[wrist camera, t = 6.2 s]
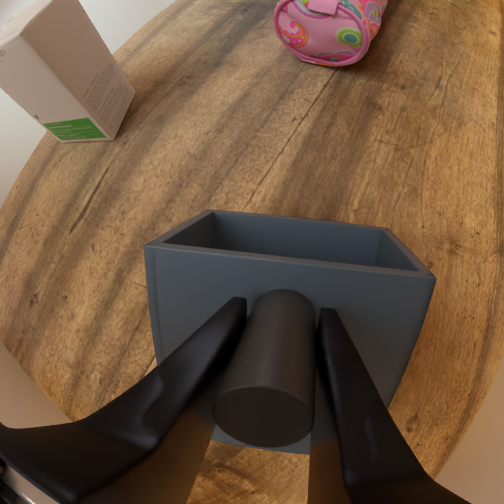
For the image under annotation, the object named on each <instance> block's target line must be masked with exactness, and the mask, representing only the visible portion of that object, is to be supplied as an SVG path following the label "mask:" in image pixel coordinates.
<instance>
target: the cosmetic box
mask: <svg viewBox="0 0 504 504" xmlns="http://www.w3.org/2000/svg"><path fill="white" fill-rule="evenodd" d="M0 88H1V89H2V90H3V91H5V92H6V93H7V94H8V95H9V96H10V97H11V98H12V99H13V100H14V101H15V102H17V103H18V104H19V105H20V106H21V107H22V108H23V109H24V110H25V111H26V112H28V113H29V114H30V115H31V116H32V117H33V118H34V119H35V120H36V121H37V122H38V123H40V124H41V125H42V126H43V127H44V128H46V129H47V131H49V132H50V133H51V134H52V135H53V136H54V137H55V138H57V139H58V140H59V141H60V142H61V143H68V142H86V141H113V140H114V139H115V137H116V135H117V132H118V130H119V128H120V126H121V123H122V121H123V119H124V117H125V115H126V112H127V110H128V108H129V106H130V104H131V102H132V100H133V98H134V96H135V94H136V92H135V91H134V89H133V87H132V86H131V84H130V83H129V81H128V80H127V78H126V76H125V75H124V73H123V72H122V70H121V68H120V67H119V65H118V64H117V62H116V61H115V59H114V57H113V56H112V54H111V53H110V51H109V49H108V48H107V46H106V44H105V43H104V41H103V40H102V38H101V37H100V35H99V33H98V32H97V30H96V29H95V27H94V25H93V23H92V22H91V20H90V19H89V17H88V15H87V14H86V12H85V10H84V9H83V7H82V6H81V4H80V2H79V1H78V0H37V1H35V2H33V3H32V4H31V5H29V6H28V7H26V8H24V9H22V10H21V11H19V12H18V13H16V14H15V15H13V16H12V17H11V18H10V19H9V20H8V22H6V24H5V25H4V26H3V27H2V28H1V29H0Z"/></svg>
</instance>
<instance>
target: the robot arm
mask: <svg viewBox="0 0 504 504" xmlns="http://www.w3.org/2000/svg"><path fill="white" fill-rule="evenodd" d="M246 321H247V299H246V298H245V297H238V296H234V297H232V298H231V299H230V300H229V301H227V302H226V303H225V304H224V305H223V306H222V307H221V308H220V309H219V310H218V311H217V312H216V313H215V314H213V315H212V316H211V317H210V318H209V319H208V320H207V321H206V322H205V323H204V324H203V325H201V326H200V327H199V328H198V329H197V330H196V331H195V332H194V333H193V334H192V335H191V336H189V337H188V338H187V339H186V340H185V341H184V342H183V343H182V344H181V345H180V346H178V347H177V348H176V349H175V350H174V351H173V352H172V353H171V354H170V355H169V356H167V357H166V358H165V359H164V360H163V361H162V362H161V363H160V364H159V365H157V366H156V367H155V368H154V369H153V370H152V371H151V372H149V373H148V374H147V375H146V376H145V377H144V378H142V379H141V380H140V381H139V382H138V383H136V384H135V385H134V386H132V387H131V388H130V389H128V390H127V391H125V392H124V393H123V394H121V395H120V396H118V397H117V398H115V399H114V400H112V401H111V402H110V403H108V404H107V405H105V406H104V407H102V408H101V409H99V410H98V411H96V412H95V413H93V414H92V415H90V416H88V417H86V418H84V419H82V420H79V421H76V422H71V423H66V424H59V425H51V426H43V427H34V428H23V429H14V428H8V427H6V426H4V425H3V424H2V423H1V422H0V504H186V502H187V499H188V497H189V494H190V492H191V489H192V487H193V484H194V482H195V479H196V478H195V477H196V476H197V474H198V471H199V469H200V466H201V463H202V461H203V458H204V456H205V453H206V450H207V448H208V445H209V442H210V440H211V437H212V434H213V432H214V429H215V426H216V422H215V420H214V417H213V413H212V406H213V402H214V400H215V397H216V395H217V392H218V390H219V388H220V385H221V383H222V380H223V378H224V375H225V373H226V371H227V368H228V366H229V363H230V361H231V358H232V356H233V353H234V351H235V348H236V346H237V343H238V341H239V338H240V336H241V333H242V331H243V328H244V326H245V323H246ZM307 504H471V503H469V502H468V501H466V500H464V499H462V498H461V497H459V496H457V495H456V494H454V493H452V492H451V491H449V490H448V489H446V488H444V487H443V486H441V485H440V484H438V483H437V482H435V481H434V480H433V479H432V478H431V477H430V476H429V475H428V474H427V473H426V472H425V470H424V469H423V467H422V466H421V464H420V463H419V461H418V460H417V458H416V456H415V455H414V453H413V452H412V450H411V449H410V447H409V445H408V444H407V442H406V441H405V439H404V438H403V436H402V434H401V433H400V431H399V429H398V428H397V426H396V424H395V423H394V421H393V419H392V417H391V415H390V413H389V412H388V410H387V408H386V406H385V404H384V402H383V399H382V398H381V397H380V394H379V392H378V390H377V388H376V386H375V384H374V382H373V380H372V378H371V376H370V374H369V372H368V370H367V368H366V366H365V364H364V362H363V360H362V358H361V356H360V354H359V352H358V350H357V348H356V347H355V345H354V343H353V341H352V339H351V337H350V335H349V333H348V331H347V330H346V328H345V326H344V324H343V322H342V320H341V318H340V317H339V315H338V313H337V311H336V310H335V309H334V308H328V307H323V308H321V311H320V316H319V320H318V324H317V330H316V390H315V416H314V425H313V427H312V430H311V440H310V466H309V485H308V500H307Z"/></svg>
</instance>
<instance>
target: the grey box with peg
mask: <svg viewBox="0 0 504 504" xmlns="http://www.w3.org/2000/svg"><path fill="white" fill-rule="evenodd" d="M144 254H145V268H146V280H147V291H148V301H149V310H150V318H151V326H152V334H153V341H154V348H155V354H156V361H157V365H159V364H160V363H161V362H162V361H163V360H164V359H165V358H166V357H167V356H169V355H170V354H171V353H172V352H173V351H174V350H175V349H176V348H177V347H178V346H180V345H181V344H182V343H183V342H184V341H185V340H186V339H187V338H188V337H189V336H191V335H192V334H193V333H194V332H195V331H196V330H197V329H198V328H199V327H200V326H201V325H203V324H204V323H205V322H206V321H207V320H208V319H209V318H210V317H211V316H212V315H213V314H215V313H216V312H217V311H218V310H219V309H220V308H221V307H222V306H223V305H224V304H225V303H226V302H227V301H229V300H230V299H231V298H232V297H234V296H238V297H245V298H246V299H247V321H246V323H245V326H244V328H243V331H242V333H241V336H240V338H239V341H238V343H237V346H236V348H235V351H234V353H233V356H232V358H231V361H230V363H229V366H228V368H227V371H226V373H225V375H224V378H223V380H222V383H221V385H220V388H219V390H218V392H217V395H216V397H215V400H214V402H213V406H212V413H213V417H214V420H215V422H216V426H215V429H214V432H213V434H212V437H211V440H216V441H220V442H225V443H230V444H235V445H240V446H246V447H252V448H258V449H264V450H271V451H279V452H288V453H297V454H309V455H310V440H311V430H312V427H313V425H314V416H315V390H316V330H317V324H318V320H319V316H320V311H321V308H323V307H328V308H334V309H335V310H336V311H337V313H338V315H339V317H340V318H341V320H342V322H343V324H344V326H345V328H346V330H347V331H348V333H349V335H350V337H351V339H352V341H353V343H354V345H355V347H356V348H357V350H358V352H359V354H360V356H361V358H362V360H363V362H364V364H365V366H366V368H367V370H368V372H369V374H370V376H371V378H372V380H373V382H374V384H375V386H376V388H377V390H378V392H379V394H380V397H381V398H382V399H383V402H384V404H385V406H386V408H387V409H388V407H389V405H390V403H391V401H392V399H393V396H394V394H395V392H396V390H397V388H398V386H399V383H400V381H401V379H402V377H403V374H404V372H405V370H406V367H407V365H408V362H409V360H410V357H411V355H412V352H413V350H414V347H415V344H416V342H417V339H418V336H419V334H420V331H421V328H422V325H423V322H424V319H425V316H426V313H427V310H428V307H429V303H430V300H431V297H432V293H433V290H434V286H435V283H436V277H435V276H434V275H433V274H432V273H431V272H430V270H429V269H428V268H427V267H426V266H425V265H424V264H423V263H422V262H421V261H420V260H419V259H418V258H417V257H416V256H415V255H414V254H413V253H412V252H411V251H410V250H409V249H408V248H407V247H406V246H405V245H404V244H403V243H402V242H401V241H400V240H399V239H398V238H397V237H396V236H395V235H394V234H393V233H392V232H391V231H390V230H389V229H388V228H382V227H374V226H366V225H358V224H350V223H342V222H334V221H325V220H316V219H307V218H297V217H288V216H277V215H267V214H256V213H245V212H233V211H221V210H206V211H204V212H202V213H200V214H199V215H197V216H195V217H193V218H191V219H189V220H188V221H186V222H184V223H182V224H180V225H179V226H177V227H175V228H173V229H172V230H170V231H168V232H166V233H164V234H163V235H161V236H159V237H157V238H156V239H154V240H152V241H151V242H149V243H147V244H145V245H144Z"/></svg>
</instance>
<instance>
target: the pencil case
mask: <svg viewBox="0 0 504 504" xmlns="http://www.w3.org/2000/svg"><path fill="white" fill-rule="evenodd" d="M387 2H388V0H280V1H279V2H278V3H277V5H276V8H275V11H274V17H273V25H274V28H275V31H276V33H277V35H278V37H279V39H280V40H281V42H282V43H283V44H284V45H285V46H286V47H287V48H288V49H289V50H290V51H291V52H292V53H293V54H295V55H296V56H297V57H298V58H300V59H301V60H303V61H305V62H310V63H314V64H319V65H327V66H345V65H350V64H353V63H355V62H357V61H359V60H360V59H361V58H362V57H363V56H364V55H365V54H366V52H367V51H368V48H369V45H370V42H371V41H372V39H373V38H374V37H375V35H376V34H377V33H378V31H379V28H380V25H381V16H382V14H383V12H384V10H385V8H386V5H387Z"/></svg>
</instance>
